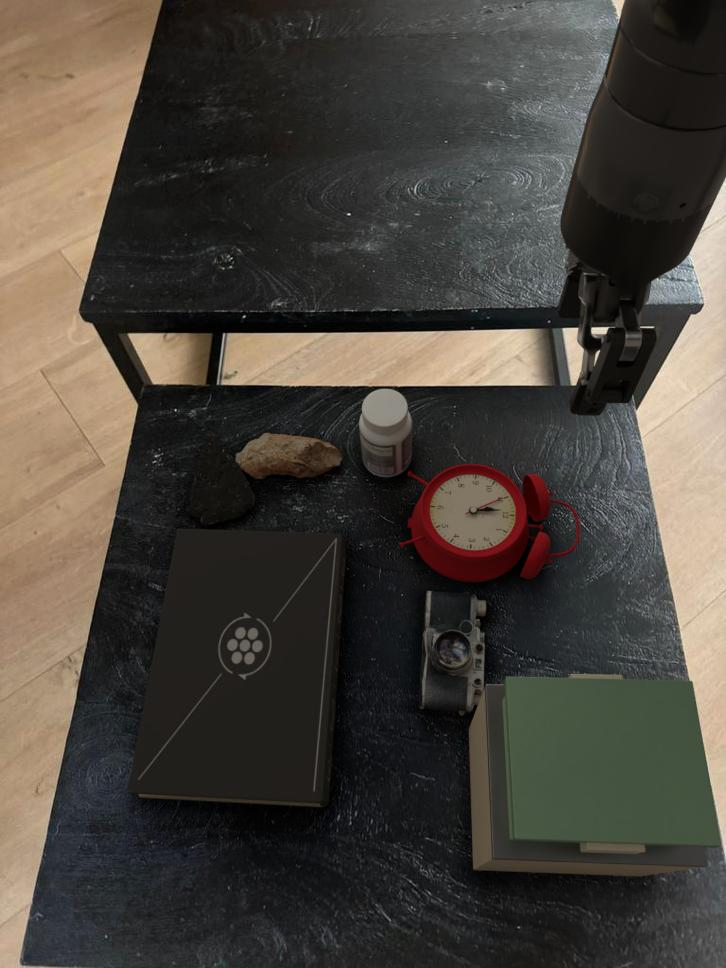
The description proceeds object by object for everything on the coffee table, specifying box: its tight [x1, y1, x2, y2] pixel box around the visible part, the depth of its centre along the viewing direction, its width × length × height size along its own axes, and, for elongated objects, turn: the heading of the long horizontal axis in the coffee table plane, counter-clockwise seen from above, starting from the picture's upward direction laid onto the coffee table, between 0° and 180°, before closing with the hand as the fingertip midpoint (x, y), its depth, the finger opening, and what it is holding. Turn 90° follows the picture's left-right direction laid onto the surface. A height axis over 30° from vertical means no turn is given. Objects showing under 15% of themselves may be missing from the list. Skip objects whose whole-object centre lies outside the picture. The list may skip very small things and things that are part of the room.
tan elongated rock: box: [234, 432, 343, 480], centre depth 72 cm, size 10×4×5 cm
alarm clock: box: [398, 463, 581, 583], centre depth 67 cm, size 10×6×15 cm
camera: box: [418, 590, 487, 717], centre depth 61 cm, size 5×10×4 cm, turn 174°
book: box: [126, 528, 348, 809], centre depth 62 cm, size 22×15×3 cm
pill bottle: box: [358, 388, 413, 478], centre depth 69 cm, size 5×5×8 cm
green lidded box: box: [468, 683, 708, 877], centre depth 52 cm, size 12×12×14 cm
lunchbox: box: [502, 673, 722, 854], centre depth 44 cm, size 11×9×4 cm
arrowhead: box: [187, 430, 256, 527], centre depth 72 cm, size 6×1×10 cm
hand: (578, 360), depth 54 cm, fingers open, 8 cm apart
